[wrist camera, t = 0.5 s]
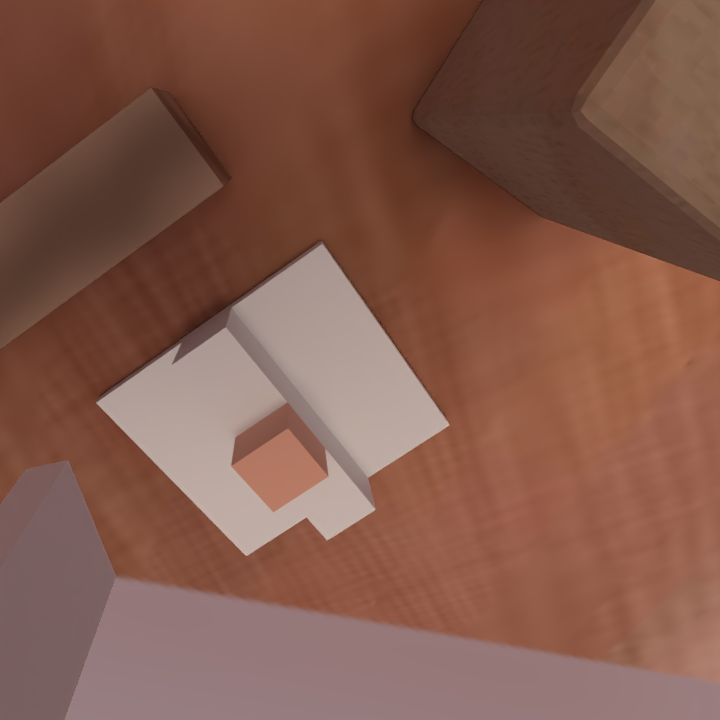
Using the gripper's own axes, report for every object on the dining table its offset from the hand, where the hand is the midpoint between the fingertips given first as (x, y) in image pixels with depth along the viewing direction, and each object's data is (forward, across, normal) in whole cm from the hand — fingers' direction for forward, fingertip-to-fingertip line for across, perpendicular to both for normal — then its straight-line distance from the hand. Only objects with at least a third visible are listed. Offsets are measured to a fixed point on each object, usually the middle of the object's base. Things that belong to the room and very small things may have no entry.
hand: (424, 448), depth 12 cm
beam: (+25, -16, +2) cm, 29 cm away
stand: (+24, -5, -10) cm, 27 cm away
